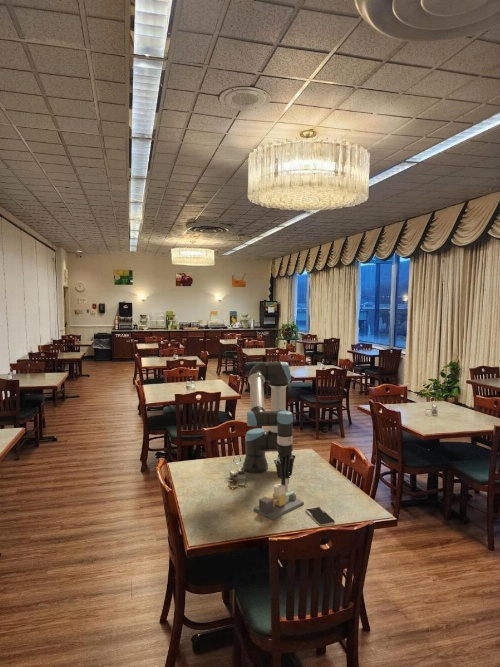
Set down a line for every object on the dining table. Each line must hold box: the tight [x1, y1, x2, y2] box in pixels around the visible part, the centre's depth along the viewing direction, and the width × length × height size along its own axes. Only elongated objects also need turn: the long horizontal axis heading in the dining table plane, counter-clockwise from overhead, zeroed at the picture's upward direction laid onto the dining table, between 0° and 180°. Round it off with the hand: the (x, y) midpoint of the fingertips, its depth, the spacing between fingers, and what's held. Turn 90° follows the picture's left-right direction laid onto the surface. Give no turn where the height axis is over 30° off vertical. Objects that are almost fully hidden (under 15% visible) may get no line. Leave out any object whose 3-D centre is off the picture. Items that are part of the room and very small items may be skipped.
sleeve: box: [272, 483, 287, 506], centre depth 197 cm, size 5×4×9 cm
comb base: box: [253, 490, 305, 520], centre depth 198 cm, size 12×22×6 cm, turn 132°
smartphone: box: [305, 506, 336, 527], centre depth 188 cm, size 8×1×15 cm
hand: (284, 491), depth 200 cm, fingers closed
